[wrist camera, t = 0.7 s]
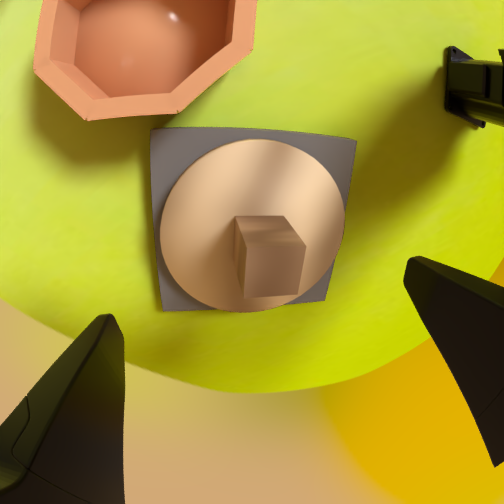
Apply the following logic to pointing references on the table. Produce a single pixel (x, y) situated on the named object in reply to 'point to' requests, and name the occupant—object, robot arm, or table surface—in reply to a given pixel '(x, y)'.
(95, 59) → the ring
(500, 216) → the table surface
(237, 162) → the lid
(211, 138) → the mat
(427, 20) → the table surface
